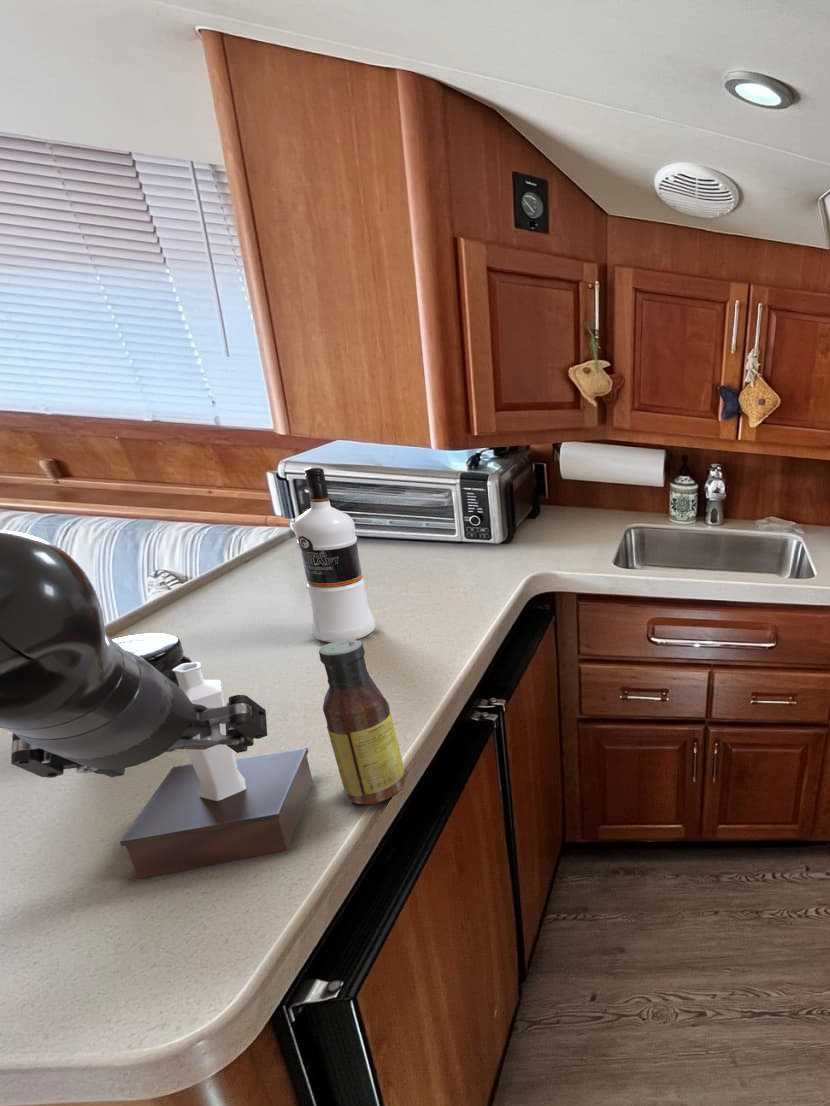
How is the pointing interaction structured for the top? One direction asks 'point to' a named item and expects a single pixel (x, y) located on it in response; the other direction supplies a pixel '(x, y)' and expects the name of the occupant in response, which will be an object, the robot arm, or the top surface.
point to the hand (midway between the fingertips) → (182, 753)
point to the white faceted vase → (219, 760)
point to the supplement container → (157, 651)
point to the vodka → (332, 567)
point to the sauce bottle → (360, 726)
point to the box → (220, 816)
